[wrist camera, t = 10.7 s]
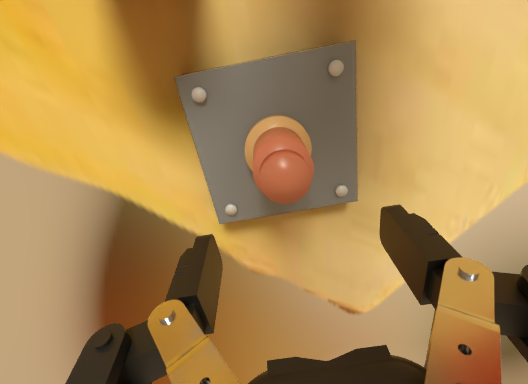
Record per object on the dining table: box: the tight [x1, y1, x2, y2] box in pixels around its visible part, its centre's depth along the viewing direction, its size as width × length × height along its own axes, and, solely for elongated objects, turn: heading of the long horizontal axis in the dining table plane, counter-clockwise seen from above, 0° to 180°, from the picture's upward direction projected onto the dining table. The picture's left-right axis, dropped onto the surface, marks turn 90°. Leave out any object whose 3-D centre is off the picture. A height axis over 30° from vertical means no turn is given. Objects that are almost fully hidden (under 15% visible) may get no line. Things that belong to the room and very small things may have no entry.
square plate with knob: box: [174, 41, 358, 224], centre depth 25 cm, size 15×15×4 cm
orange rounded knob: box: [253, 127, 314, 204], centre depth 21 cm, size 5×5×6 cm
